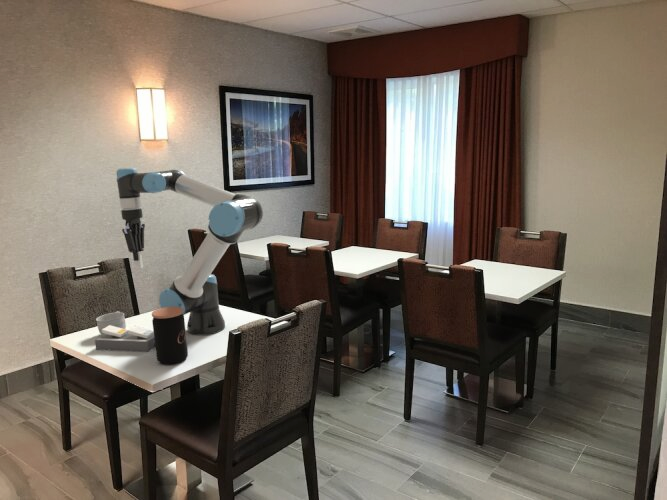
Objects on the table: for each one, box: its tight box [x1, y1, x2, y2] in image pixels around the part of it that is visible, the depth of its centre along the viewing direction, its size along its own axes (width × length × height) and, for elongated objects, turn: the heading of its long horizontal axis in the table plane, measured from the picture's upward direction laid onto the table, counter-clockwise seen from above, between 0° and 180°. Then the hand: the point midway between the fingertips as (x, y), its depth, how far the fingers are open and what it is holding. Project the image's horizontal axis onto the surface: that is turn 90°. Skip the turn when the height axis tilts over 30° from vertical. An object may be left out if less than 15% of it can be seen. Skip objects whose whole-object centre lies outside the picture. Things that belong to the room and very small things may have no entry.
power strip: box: [94, 333, 156, 353], centre depth 208 cm, size 26×10×5 cm, turn 78°
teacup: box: [95, 310, 127, 336], centre depth 223 cm, size 14×11×8 cm
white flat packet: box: [127, 325, 154, 338], centre depth 206 cm, size 8×5×1 cm, turn 79°
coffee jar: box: [151, 307, 189, 366], centre depth 191 cm, size 11×11×18 cm
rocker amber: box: [102, 325, 129, 337], centre depth 209 cm, size 8×5×1 cm, turn 79°
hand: (139, 268), depth 215 cm, fingers closed
